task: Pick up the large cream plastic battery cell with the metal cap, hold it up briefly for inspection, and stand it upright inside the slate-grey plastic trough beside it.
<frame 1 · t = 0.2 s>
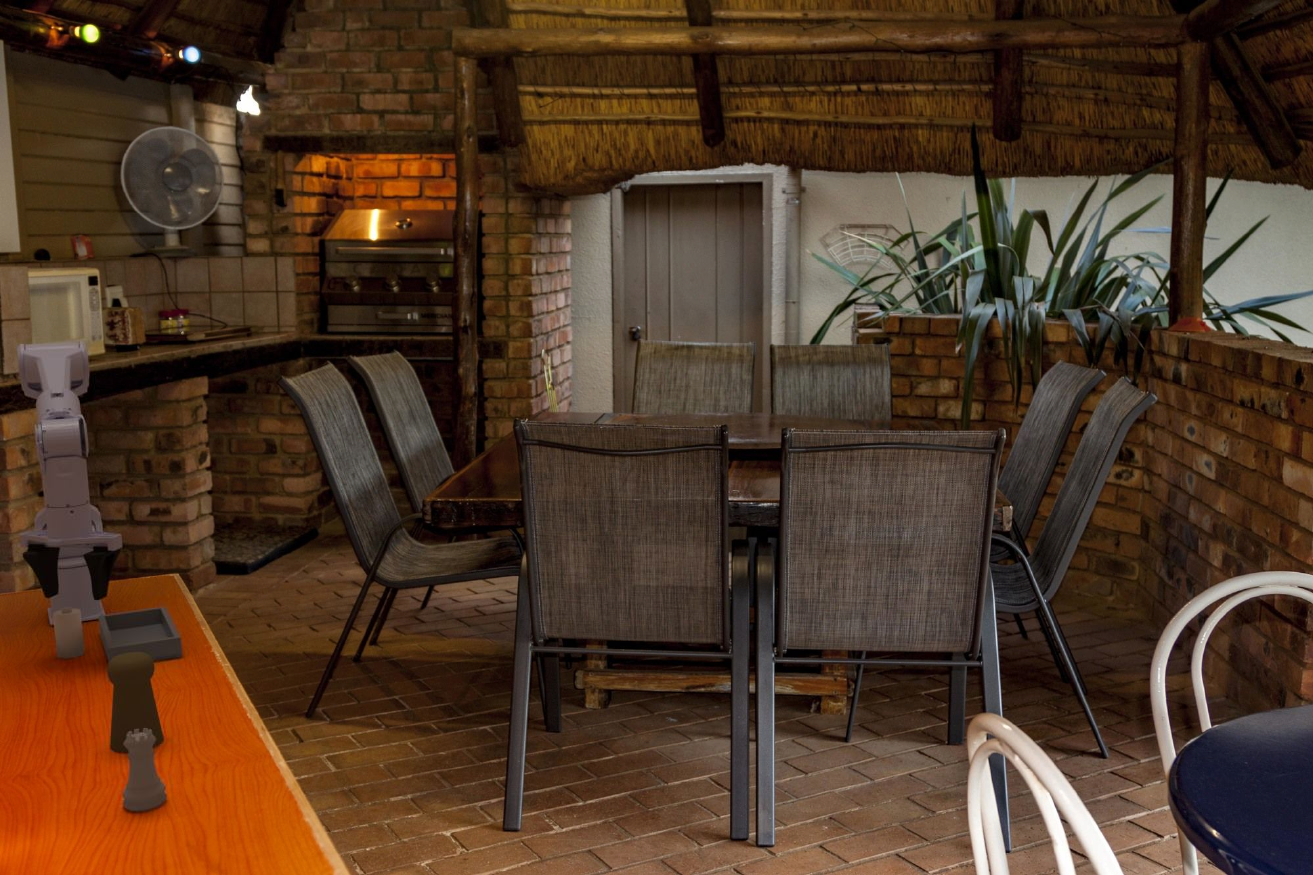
hand: (76, 597, 177), 10 cm above the table, tool pointing down, fingers open, 7 cm apart
cork: (137, 744, 150), on the table
trough: (140, 645, 186), on the table
cell: (70, 654, 182), on the table
rook chess piece: (145, 805, 134), on the table
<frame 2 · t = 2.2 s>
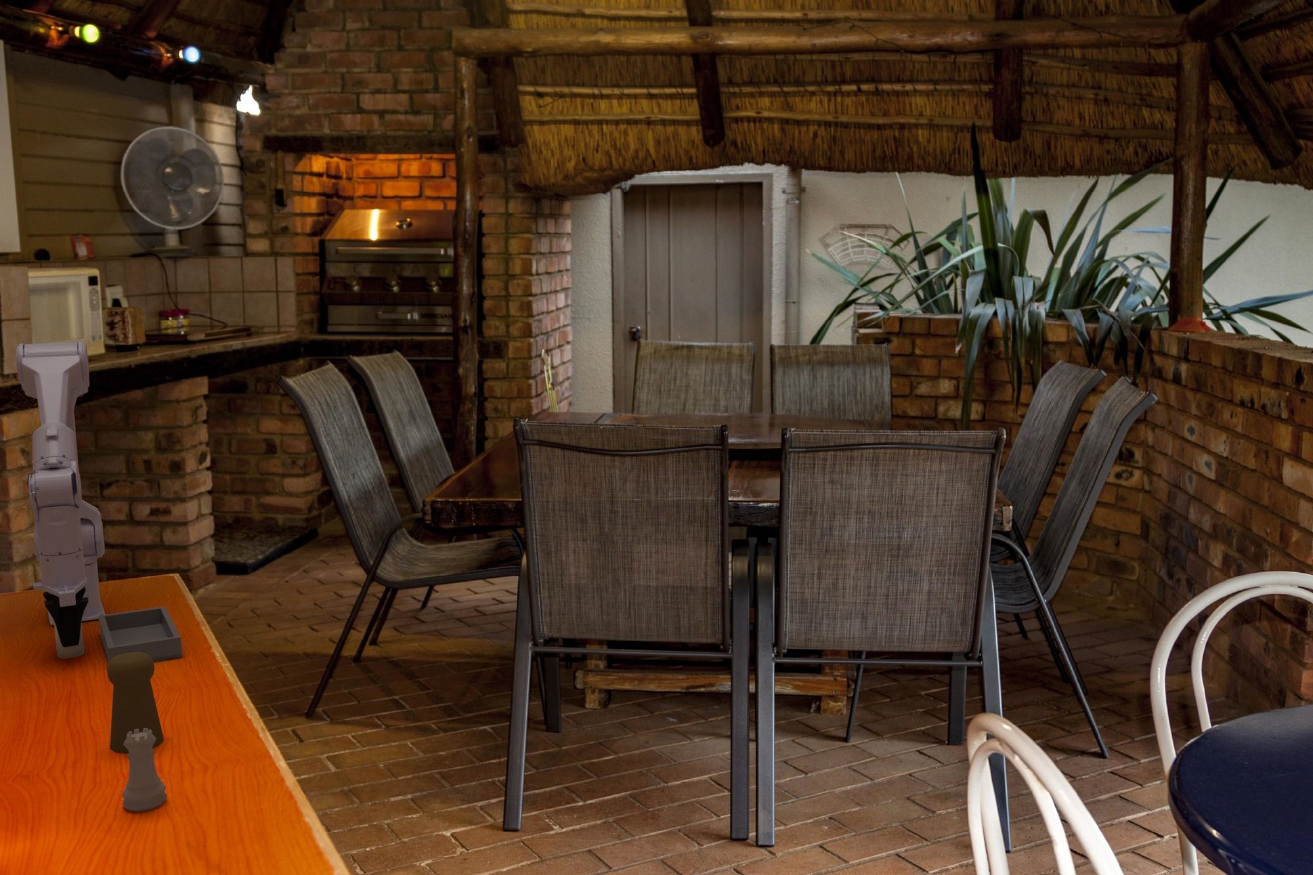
hand: (69, 641, 182), 2 cm above the table, tool pointing down, fingers closed on cell, 4 cm apart
cell: (70, 654, 182), on the table, touching gripper
everything else where it was.
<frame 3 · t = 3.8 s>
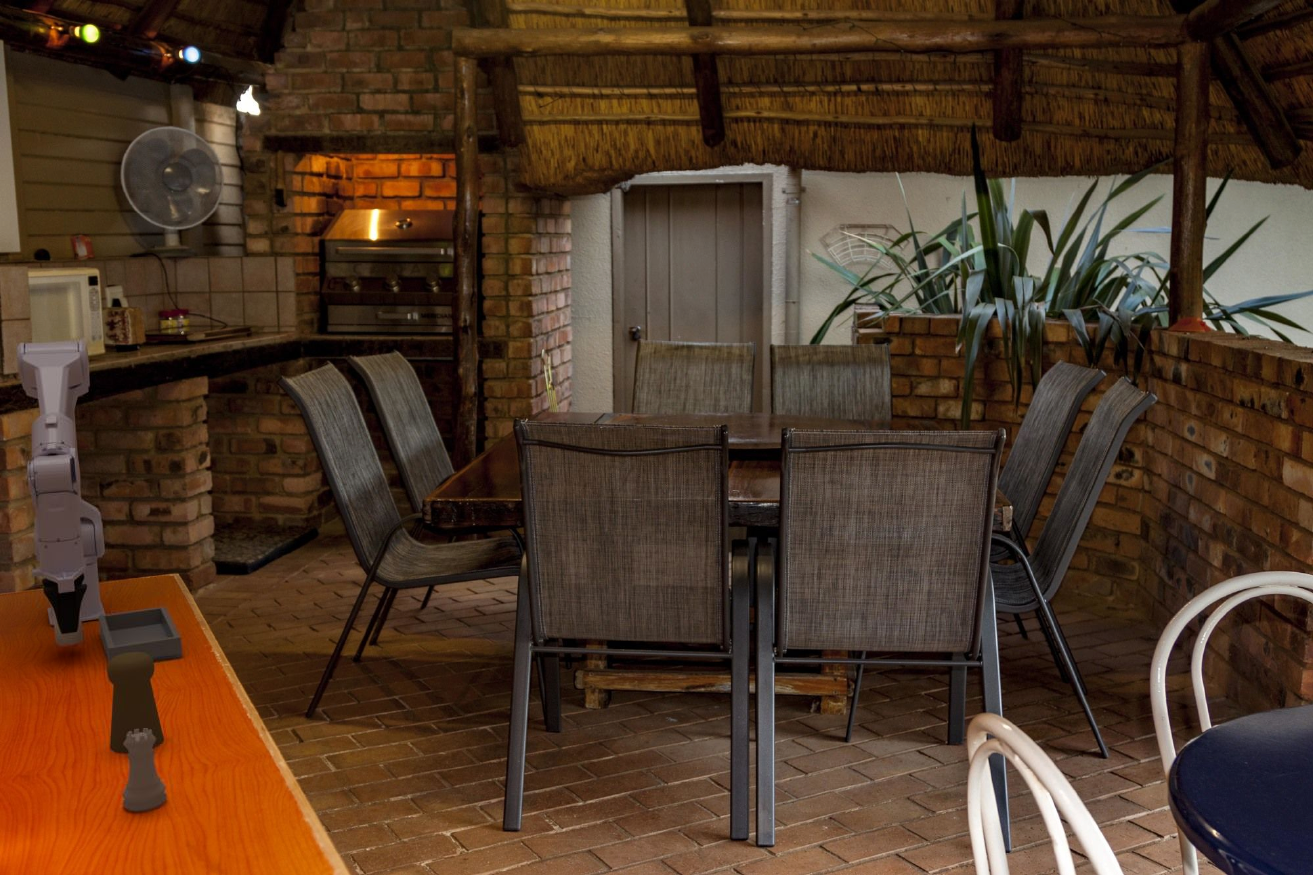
hand: (68, 628, 182), 4 cm above the table, tool pointing down, fingers closed on cell, 4 cm apart
cell: (69, 641, 182), point 2 cm above the table, touching gripper
everything else where it was.
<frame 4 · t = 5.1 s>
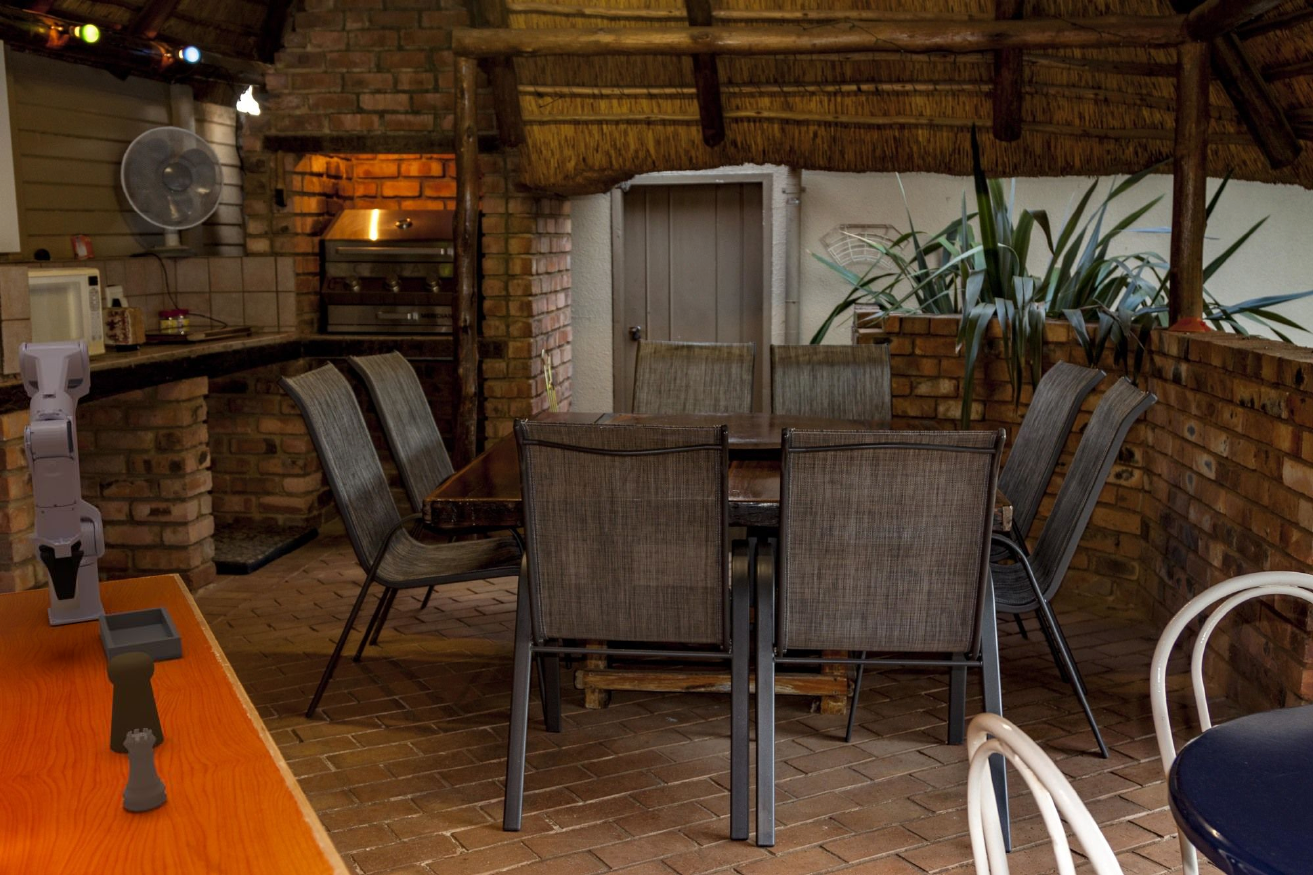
hand: (65, 595, 181), 9 cm above the table, tool pointing down, fingers closed on cell, 4 cm apart
cell: (66, 608, 181), point 7 cm above the table, touching gripper
everything else where it was.
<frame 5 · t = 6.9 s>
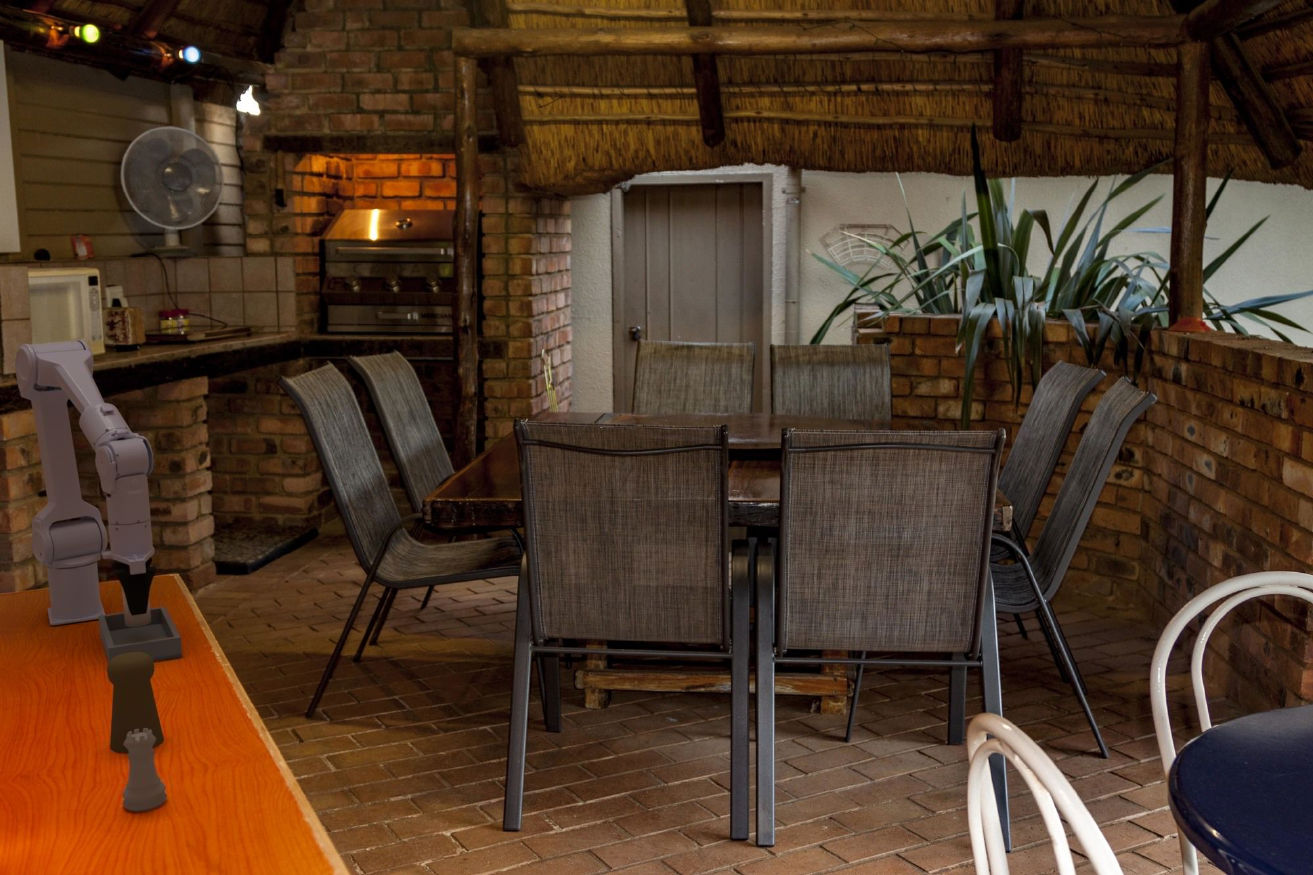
hand: (137, 610, 185), 5 cm above the table, tool pointing down, fingers closed on cell, 4 cm apart
cell: (138, 622, 185), point 4 cm above the table, touching gripper
everything else where it was.
when the fingers open (4 cm above the table, at t = 8.0 s): cell drops 1 cm, resting on trough.
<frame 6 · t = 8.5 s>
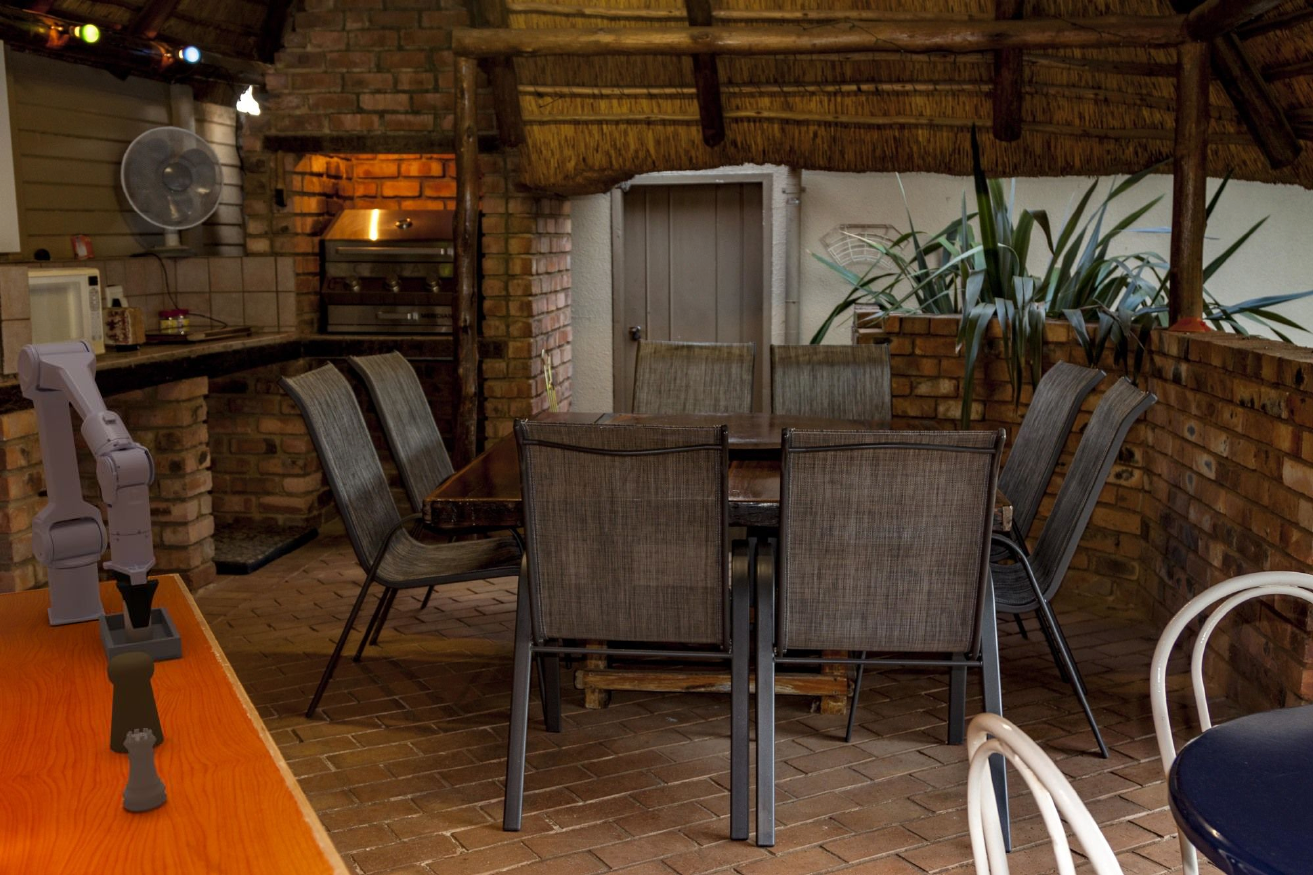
hand: (137, 620, 185), 4 cm above the table, tool pointing down, fingers open, 7 cm apart
cell: (139, 641, 186), point 1 cm above the table, touching trough
everything else where it was.
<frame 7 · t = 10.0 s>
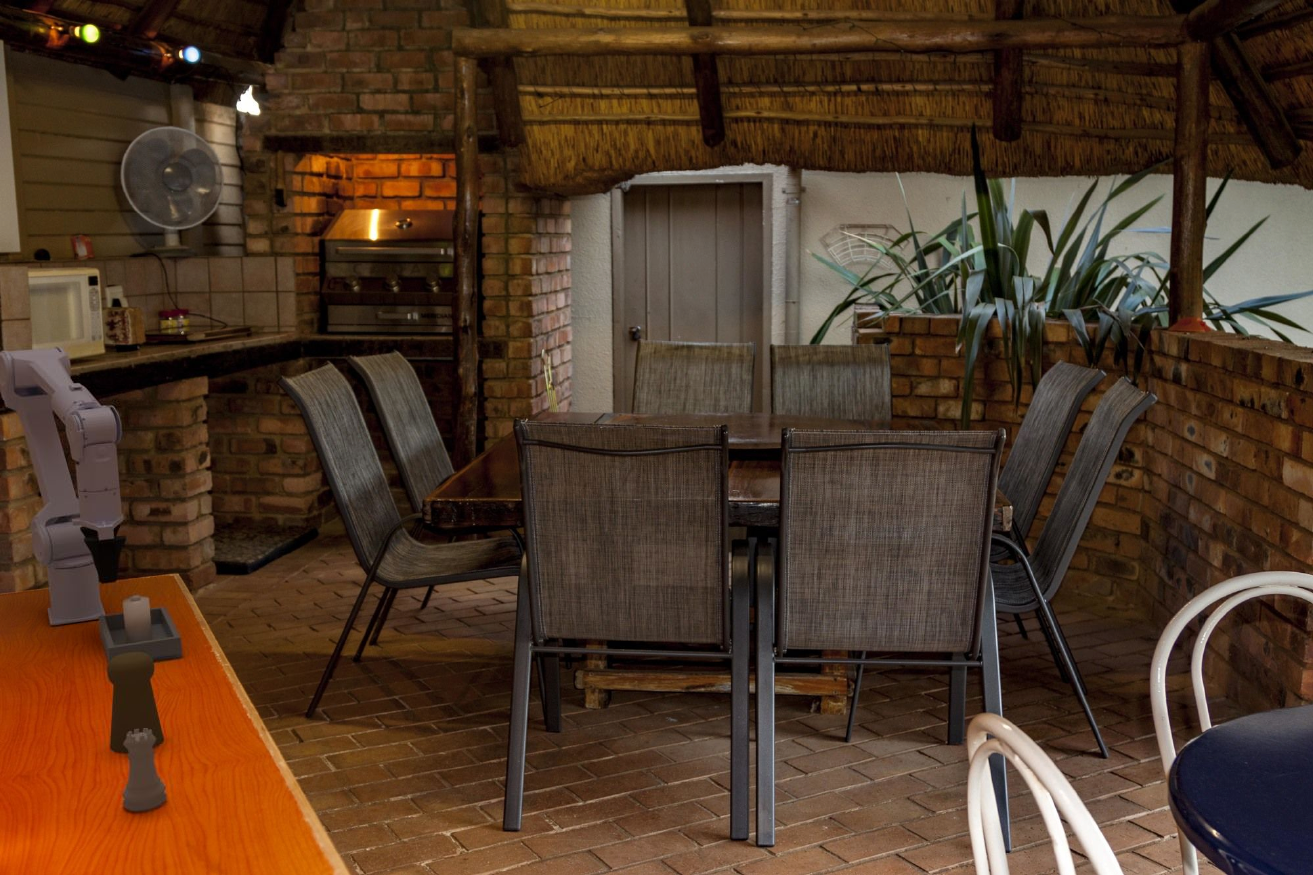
hand: (106, 576, 189), 9 cm above the table, tool pointing down, fingers open, 7 cm apart
nothing on the table moved.
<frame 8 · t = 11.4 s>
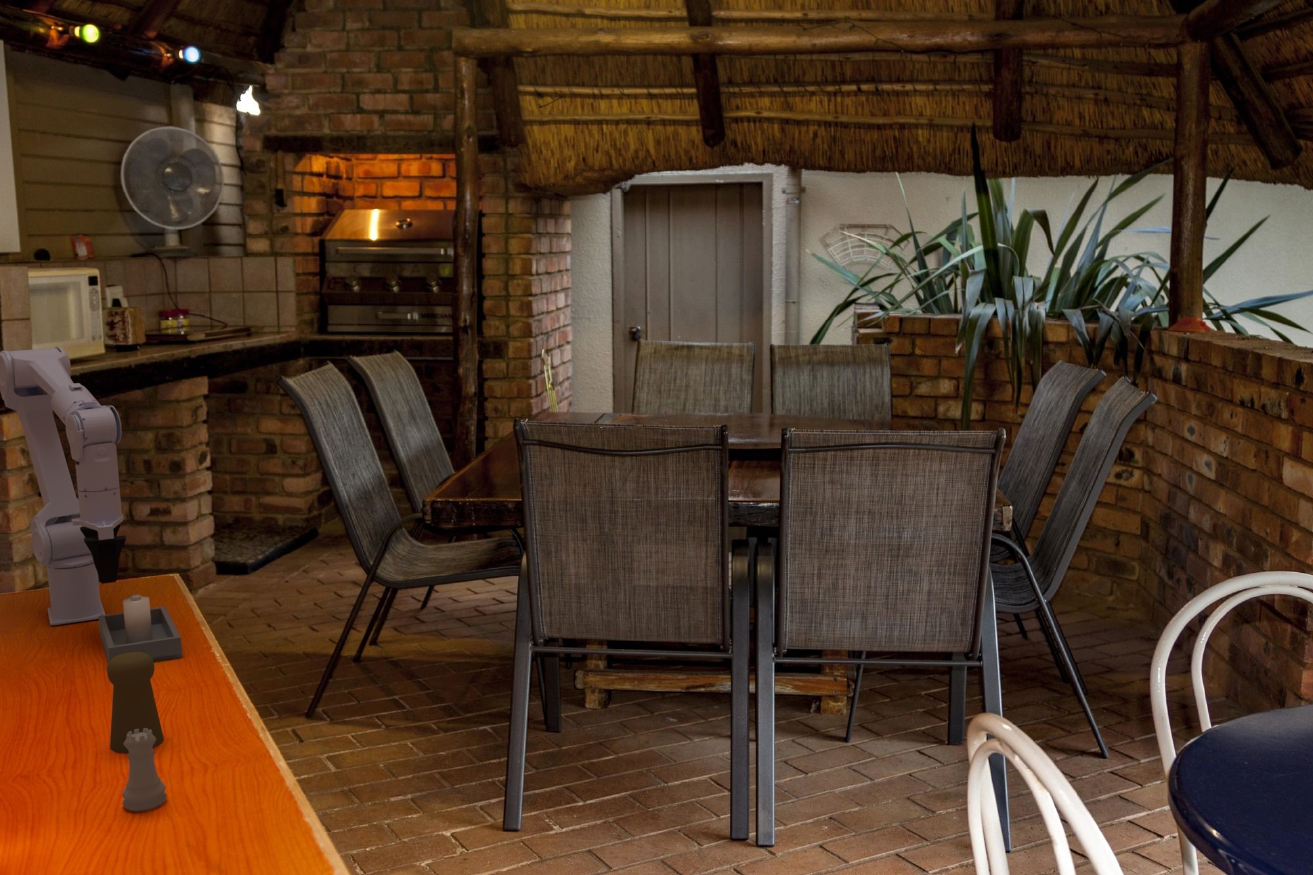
hand: (106, 576, 189), 9 cm above the table, tool pointing down, fingers open, 7 cm apart
nothing on the table moved.
at the end: cell inside the target area on the trough (0.0 cm from its centre), point 0.6 cm above the trough's base; cell tilted 1°; the gripper is holding nothing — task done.
